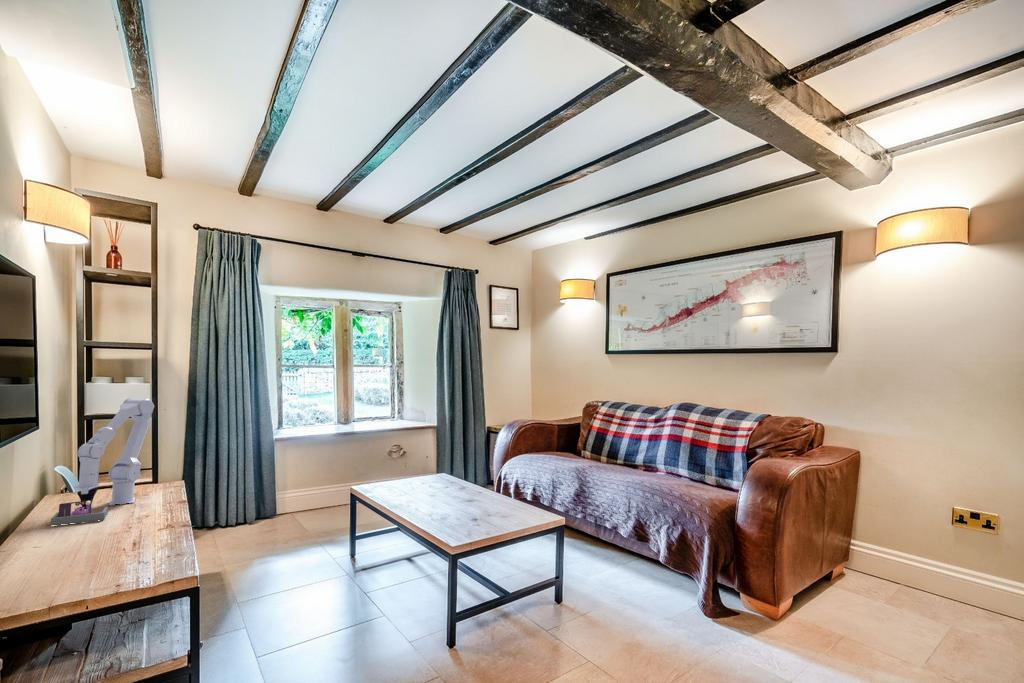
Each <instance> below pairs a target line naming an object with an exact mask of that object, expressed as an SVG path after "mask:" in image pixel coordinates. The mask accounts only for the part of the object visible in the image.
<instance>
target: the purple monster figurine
mask: <svg viewBox="0 0 1024 683" xmlns="http://www.w3.org/2000/svg"><path fill="white" fill-rule="evenodd" d="M85 502H86V507H82V505H84V504H85ZM92 503H93V501H92V500H87V501H81V500H80V501H73V502H71V501H70V502H64V503H63V502H62V503H59V506H58V512H59V514H58V517H65V516H74V515H82V514H91V513H92V505H91V504H92ZM72 504H75V506H76V508H74V510H73V511H72ZM84 508H86V509H85V510H84Z"/></svg>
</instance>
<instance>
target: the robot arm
mask: <svg viewBox="0 0 1024 683" xmlns="http://www.w3.org/2000/svg"><path fill="white" fill-rule="evenodd" d="M119 406H120V409H119V410H118V411H117V413H116V414H115V415H114V417H113V418H112V419H111V420H110V421H109V423H108V424H107V425H106V426H103V427H100V428H99V429H97V430H96V432H95V434H94V435H93V436H92V437H91V438H90V439H89V440H88V441H87V442H85V443H83V444H82V445H81V446H79V448H78V450H76V455H77V457H78V458H79V462H80V463H79V464H80V465H79V476H78V485H75V486H74V489H78V490H79V491H77V496H78V498H79V500H80V501H87V500H92V502H93V500H94V497H95V495H96V493H97V492H98V491H99V489H98V487H99V474H100V473H99V472H100V463H101V461H100V460H101V457H102V456H104V454H105V451H106V448H107V446H108V444H110V442H111V441H112V440H113V438H114V437H116V435H117V434H116V431H117V430H118V429H119V428H120V427H121V426H122V425H123V424H124V423H125V422H126V421H127V420H128V419H129V418H132V419H133V421H134V422H133V425H132V428H131V430H130V434H129V436H128V438H127V441H126V444H125V446H124V450H123V453H122V455H121V456H120V458H118V459H117V460H115V461H114V464H113V465H112V467H111V468H110V469H109V470H108V478H109V479H110V480H111V483H112V488H111V489H112V492H111V500H110V502H109V504H108V506H109V505H110V506H116V505H115V504H120V505H127V504H126V503H129V504H133V503H134V502H135V501H136V499H137V498H136V497H134V496H135V483H136V481H137V479H138V477H139V476H140V475H141V467H142V463H141V462H140V461H139V459H138V458H139V456H140V452H141V449H142V447H143V443H144V441H145V438H146V435H147V432H148V429H149V427H150V424H151V422H152V415H153V412H154V409H155V404H154V402H153V401H152V400H151V399H150V398H131V397H129V398H126V399H125V400H124V401H123V402H122V403H121V404H120V405H119ZM135 498H136V499H135ZM91 506H92V504H91ZM81 507H86V502H85V504H84V505H81ZM85 510H86V508H84V511H85Z"/></svg>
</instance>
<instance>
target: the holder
mask: <svg viewBox="0 0 1024 683" xmlns="http://www.w3.org/2000/svg"><path fill="white" fill-rule="evenodd" d="M108 510H109V507H108V506H106V507H104V509H103V510H102V512H101V511H100V512H93V513H92V512H91V514H86V513H83V514H82V515H74V516H72V515H71V516H65V517H58V514H59V511H58V512H56V513H55V514H54V515H53V516H52V517H50V523H49V524H50V525H49V527H50V526H51V525H61V524H70V523H81V524H83V523H82V522H89V523H92V522H91V521H97V522H99V521H98V520H104V519H106V518H107V516H108V512H109V511H108ZM106 515H107V516H106ZM105 517H106V518H105ZM104 521H105V520H104Z"/></svg>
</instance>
